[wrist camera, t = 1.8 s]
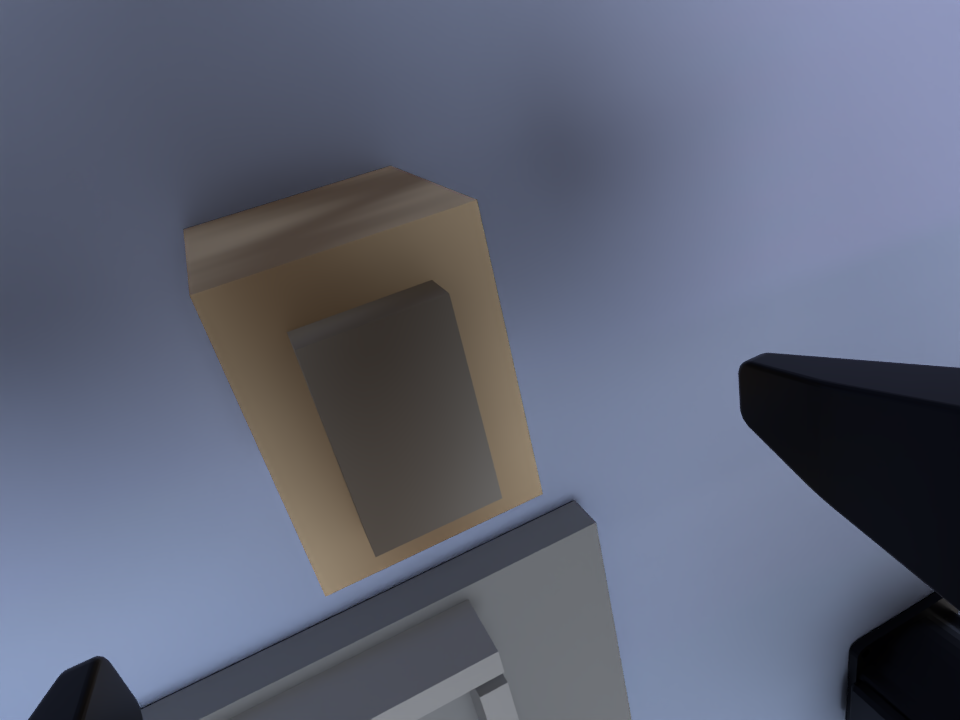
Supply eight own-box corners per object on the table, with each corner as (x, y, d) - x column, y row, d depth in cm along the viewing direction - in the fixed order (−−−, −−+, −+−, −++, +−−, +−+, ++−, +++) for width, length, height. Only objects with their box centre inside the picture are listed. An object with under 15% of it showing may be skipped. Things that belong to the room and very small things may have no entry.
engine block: (389, 165, 15) (497, 207, 10) (452, 394, 18) (562, 516, 13) (183, 228, 14) (191, 312, 9) (285, 463, 17) (334, 627, 12)
